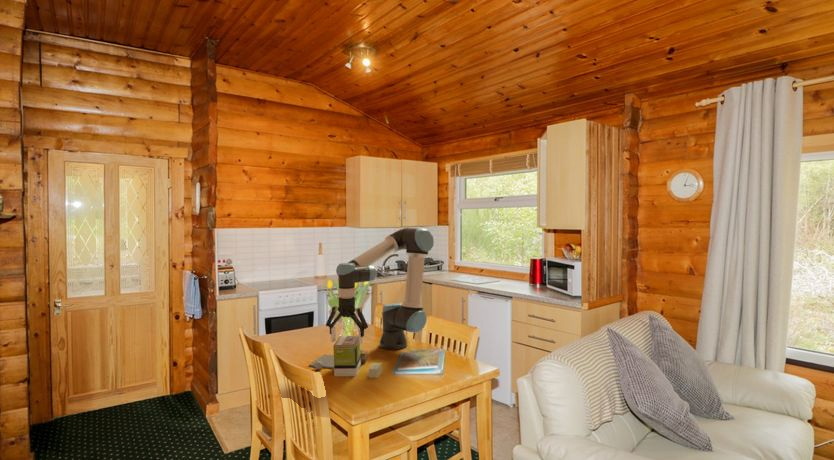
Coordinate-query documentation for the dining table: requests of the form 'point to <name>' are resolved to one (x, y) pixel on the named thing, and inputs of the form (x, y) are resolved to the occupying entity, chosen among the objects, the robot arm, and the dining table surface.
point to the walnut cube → (363, 356)
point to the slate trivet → (325, 361)
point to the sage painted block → (375, 370)
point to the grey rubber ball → (318, 365)
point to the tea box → (347, 356)
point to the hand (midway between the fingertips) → (346, 342)
